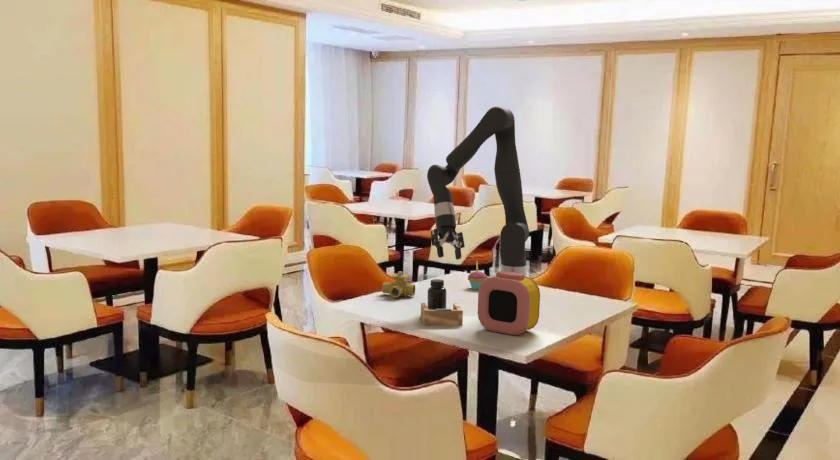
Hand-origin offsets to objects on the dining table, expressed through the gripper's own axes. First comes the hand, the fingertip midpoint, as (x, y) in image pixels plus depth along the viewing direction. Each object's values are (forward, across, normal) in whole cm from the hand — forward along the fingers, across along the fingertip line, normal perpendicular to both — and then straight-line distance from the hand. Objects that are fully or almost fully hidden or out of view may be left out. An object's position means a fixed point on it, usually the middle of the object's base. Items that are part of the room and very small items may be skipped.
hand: (449, 258), depth 270 cm
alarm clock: (+32, 0, -24) cm, 39 cm away
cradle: (+24, -10, -3) cm, 26 cm away
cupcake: (+4, +37, +25) cm, 45 cm away
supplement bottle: (+20, -5, +6) cm, 21 cm away
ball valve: (+8, -1, +32) cm, 33 cm away
